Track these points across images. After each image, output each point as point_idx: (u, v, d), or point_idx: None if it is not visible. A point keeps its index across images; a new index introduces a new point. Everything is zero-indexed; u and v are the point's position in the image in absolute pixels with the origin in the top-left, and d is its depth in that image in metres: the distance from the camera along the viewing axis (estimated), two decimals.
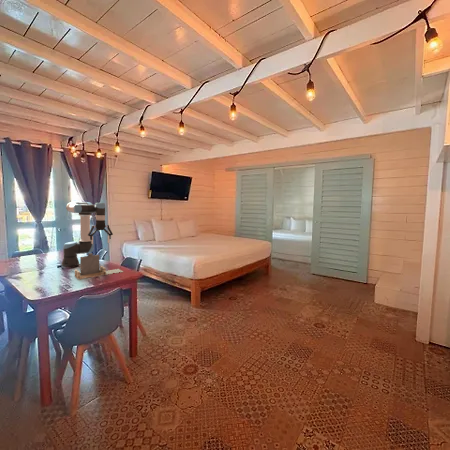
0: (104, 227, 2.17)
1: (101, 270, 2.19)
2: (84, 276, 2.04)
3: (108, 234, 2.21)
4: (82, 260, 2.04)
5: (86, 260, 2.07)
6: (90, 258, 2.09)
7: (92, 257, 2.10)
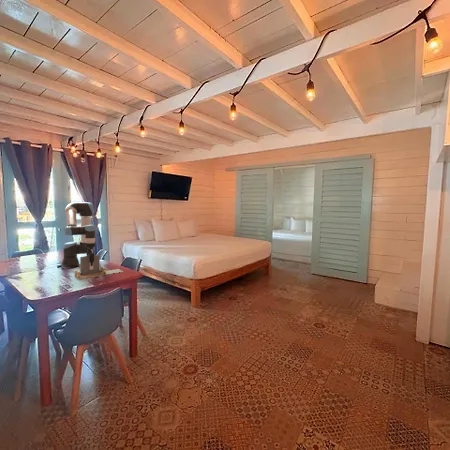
0: (89, 250, 2.08)
1: (101, 270, 2.19)
2: (84, 276, 2.04)
3: (90, 260, 2.08)
4: (82, 260, 2.04)
5: (86, 260, 2.07)
6: None
7: None
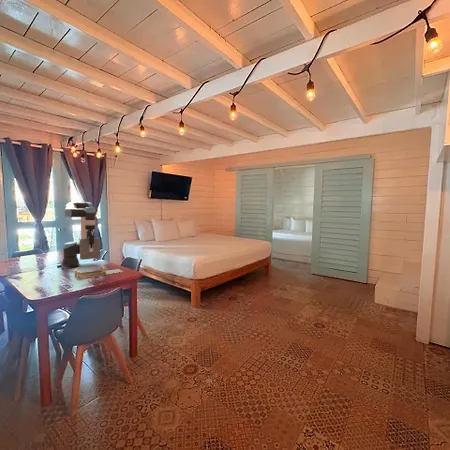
0: (89, 232, 2.06)
1: (101, 270, 2.19)
2: (84, 276, 2.04)
3: (90, 242, 2.07)
4: (81, 242, 2.04)
5: (86, 242, 2.06)
6: (89, 241, 2.08)
7: None
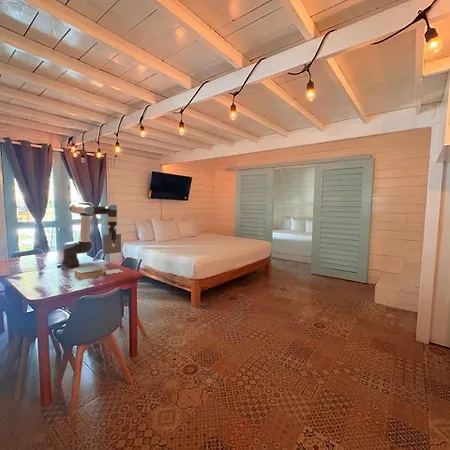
0: None
1: (101, 270, 2.19)
2: (84, 276, 2.04)
3: None
4: (104, 237, 2.17)
5: (108, 237, 2.19)
6: None
7: None
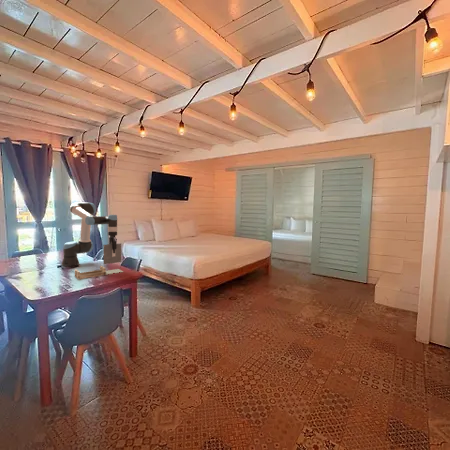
0: (112, 238, 2.20)
1: (101, 270, 2.19)
2: (84, 276, 2.04)
3: None
4: (105, 247, 2.18)
5: (109, 248, 2.20)
6: None
7: None
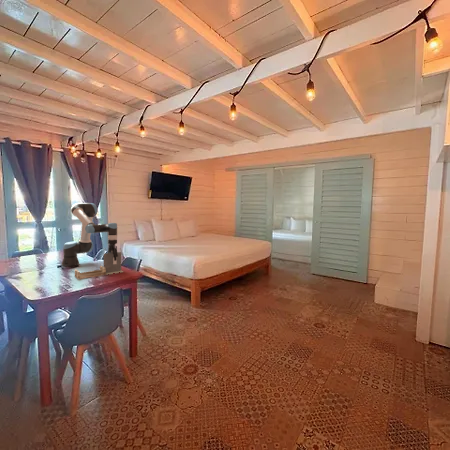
0: (112, 247, 2.21)
1: (101, 270, 2.19)
2: (84, 276, 2.04)
3: (114, 255, 2.20)
4: (105, 256, 2.19)
5: (109, 256, 2.20)
6: (112, 255, 2.22)
7: None
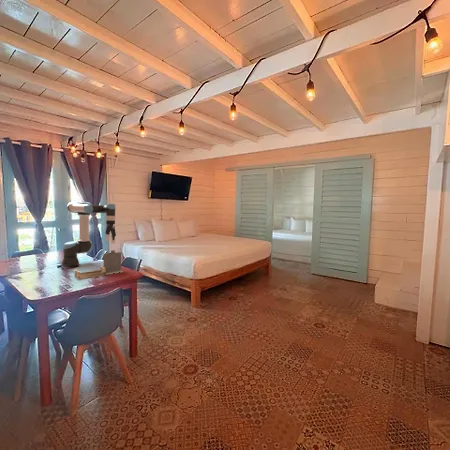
0: (110, 227, 2.23)
1: (101, 270, 2.19)
2: (84, 276, 2.04)
3: (112, 235, 2.22)
4: (105, 256, 2.19)
5: (109, 256, 2.21)
6: (112, 255, 2.22)
7: (114, 254, 2.24)
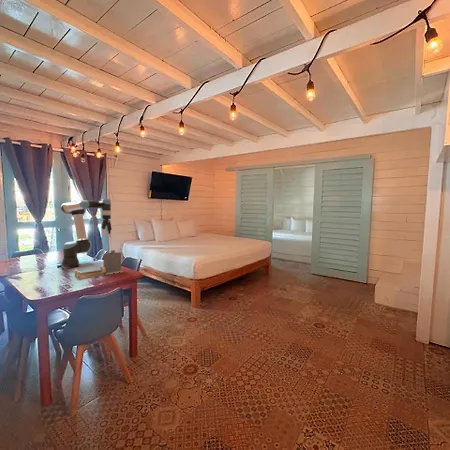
0: (106, 222, 2.33)
1: (101, 270, 2.19)
2: (84, 276, 2.04)
3: (108, 229, 2.31)
4: (105, 256, 2.19)
5: (109, 256, 2.21)
6: (112, 255, 2.22)
7: (114, 254, 2.24)
